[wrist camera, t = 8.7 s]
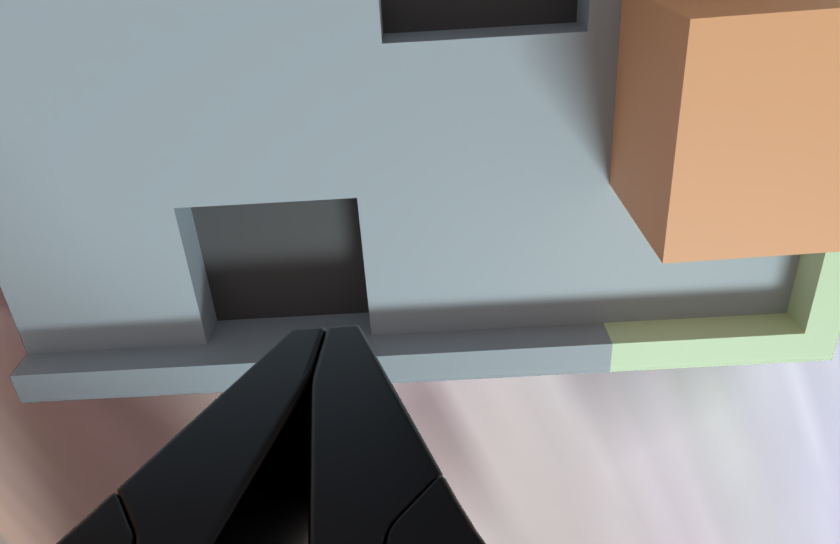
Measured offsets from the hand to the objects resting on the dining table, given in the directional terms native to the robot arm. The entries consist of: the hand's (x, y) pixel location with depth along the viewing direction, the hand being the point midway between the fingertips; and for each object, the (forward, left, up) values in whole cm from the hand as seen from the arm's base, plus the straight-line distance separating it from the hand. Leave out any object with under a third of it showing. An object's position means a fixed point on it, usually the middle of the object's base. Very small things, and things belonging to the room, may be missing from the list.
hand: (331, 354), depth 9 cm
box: (0, -1, -12) cm, 12 cm away
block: (0, -9, -10) cm, 13 cm away
